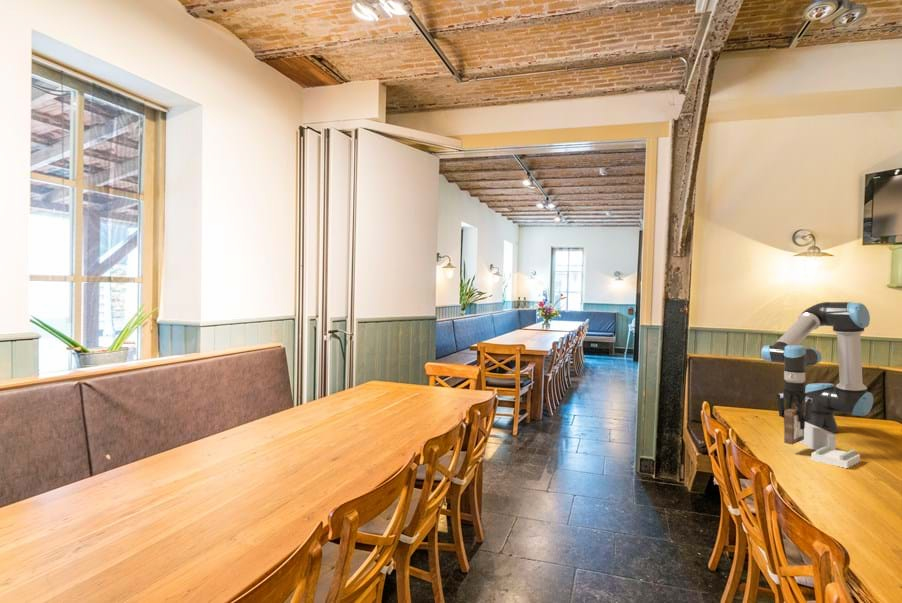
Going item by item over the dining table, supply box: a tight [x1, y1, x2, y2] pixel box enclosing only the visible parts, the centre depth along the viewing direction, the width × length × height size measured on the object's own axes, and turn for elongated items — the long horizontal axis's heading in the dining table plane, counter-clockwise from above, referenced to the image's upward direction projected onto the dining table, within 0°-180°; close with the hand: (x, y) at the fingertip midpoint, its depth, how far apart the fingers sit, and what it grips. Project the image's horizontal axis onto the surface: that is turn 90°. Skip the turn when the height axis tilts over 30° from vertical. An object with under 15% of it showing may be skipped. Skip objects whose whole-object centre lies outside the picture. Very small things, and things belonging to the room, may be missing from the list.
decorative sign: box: [798, 422, 837, 451], centre depth 222 cm, size 32×4×10 cm, turn 174°
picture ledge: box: [810, 446, 861, 469], centre depth 201 cm, size 14×12×4 cm
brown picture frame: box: [783, 406, 805, 445], centre depth 213 cm, size 12×4×14 cm, turn 125°
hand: (794, 434), depth 213 cm, fingers closed on brown picture frame, 3 cm apart
